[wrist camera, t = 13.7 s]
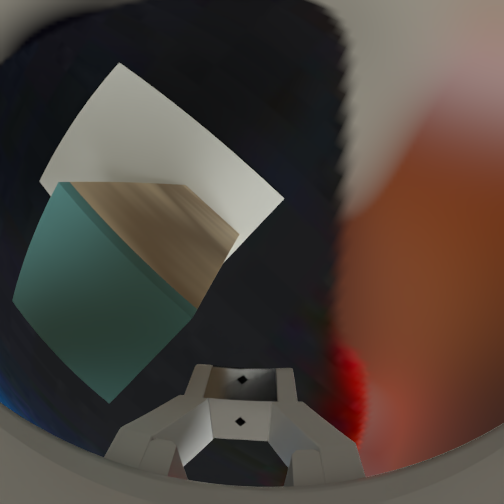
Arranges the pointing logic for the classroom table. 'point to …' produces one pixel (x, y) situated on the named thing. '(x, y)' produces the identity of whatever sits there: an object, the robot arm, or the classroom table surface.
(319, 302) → the classroom table surface
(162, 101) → the grey mat
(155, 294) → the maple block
